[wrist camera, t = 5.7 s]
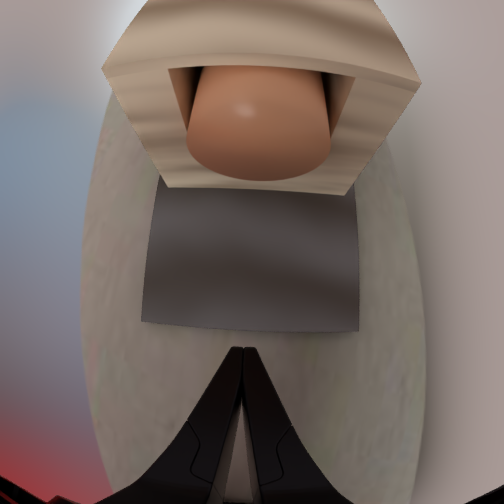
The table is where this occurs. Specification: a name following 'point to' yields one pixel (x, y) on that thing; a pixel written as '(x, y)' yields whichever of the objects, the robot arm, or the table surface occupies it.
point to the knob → (259, 122)
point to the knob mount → (258, 192)
